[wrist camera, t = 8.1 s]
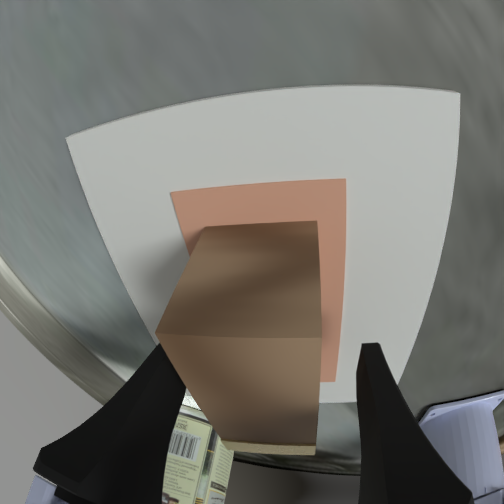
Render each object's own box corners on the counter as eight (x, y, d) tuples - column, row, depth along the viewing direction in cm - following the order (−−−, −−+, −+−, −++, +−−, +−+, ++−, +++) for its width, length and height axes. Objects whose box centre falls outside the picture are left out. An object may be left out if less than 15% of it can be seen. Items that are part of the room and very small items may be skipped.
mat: (390, 391, 18) (391, 400, 17) (189, 388, 20) (187, 396, 20) (452, 90, 7) (461, 93, 7) (74, 133, 10) (64, 138, 10)
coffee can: (164, 436, 30) (134, 540, 19) (115, 392, 24) (66, 522, 13) (251, 446, 27) (228, 566, 16) (219, 405, 22) (179, 572, 10)
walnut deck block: (317, 220, 10) (321, 341, 6) (318, 368, 16) (314, 456, 11) (205, 226, 11) (153, 335, 7) (245, 367, 16) (228, 451, 12)
